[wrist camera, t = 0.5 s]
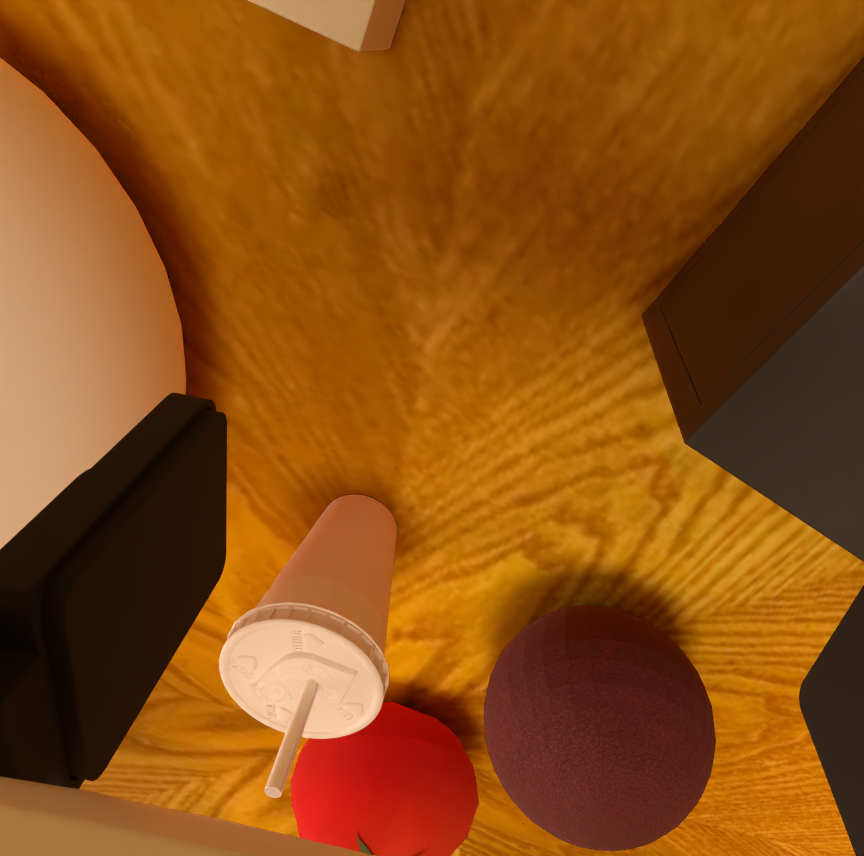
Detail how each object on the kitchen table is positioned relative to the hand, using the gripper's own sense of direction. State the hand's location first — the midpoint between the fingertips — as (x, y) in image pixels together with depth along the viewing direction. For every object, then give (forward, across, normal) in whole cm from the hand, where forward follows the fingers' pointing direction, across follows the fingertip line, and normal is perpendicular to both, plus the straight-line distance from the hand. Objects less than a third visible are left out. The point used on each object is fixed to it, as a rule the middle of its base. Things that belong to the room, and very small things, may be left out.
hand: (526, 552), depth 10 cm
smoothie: (+19, +5, +15) cm, 25 cm away
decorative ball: (+19, -7, +19) cm, 28 cm away
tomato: (+19, +1, +30) cm, 35 cm away
